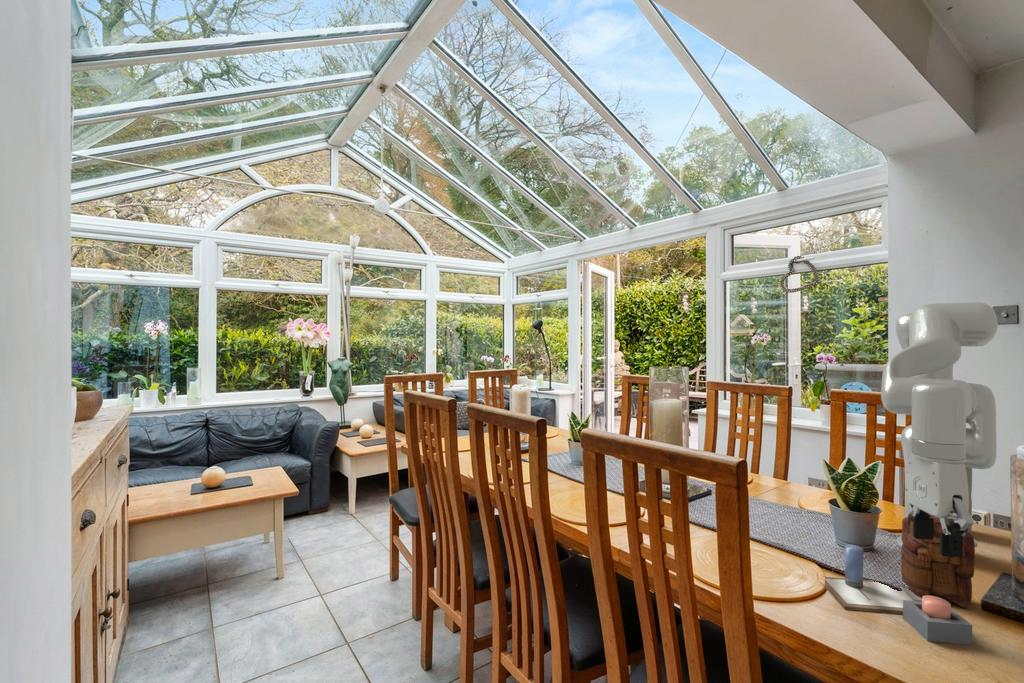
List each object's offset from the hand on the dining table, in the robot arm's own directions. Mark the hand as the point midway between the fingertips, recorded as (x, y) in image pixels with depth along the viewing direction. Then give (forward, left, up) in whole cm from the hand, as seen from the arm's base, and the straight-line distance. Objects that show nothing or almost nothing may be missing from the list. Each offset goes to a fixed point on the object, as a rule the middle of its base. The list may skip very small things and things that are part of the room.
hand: (936, 546), depth 89 cm
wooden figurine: (-8, -14, -16) cm, 22 cm away
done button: (0, 0, -14) cm, 14 cm away
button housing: (0, 0, -16) cm, 16 cm away
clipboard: (+5, -11, -16) cm, 20 cm away
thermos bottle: (-35, -51, -16) cm, 64 cm away
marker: (+7, -14, -15) cm, 22 cm away
